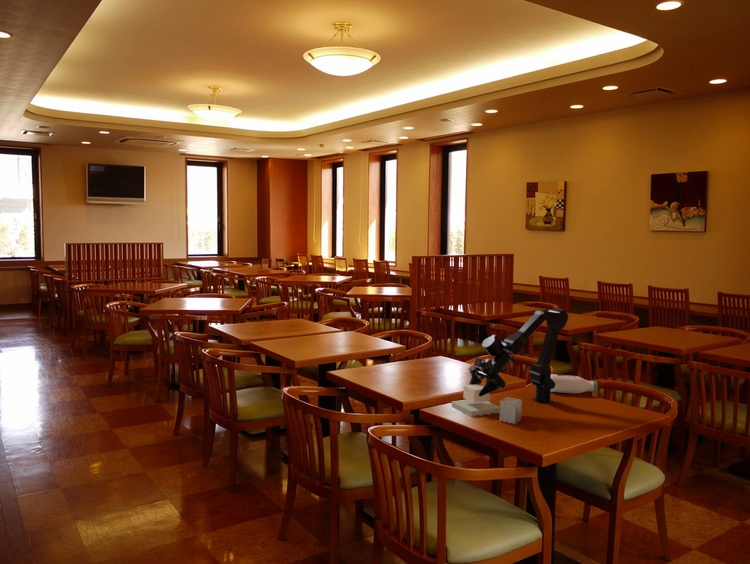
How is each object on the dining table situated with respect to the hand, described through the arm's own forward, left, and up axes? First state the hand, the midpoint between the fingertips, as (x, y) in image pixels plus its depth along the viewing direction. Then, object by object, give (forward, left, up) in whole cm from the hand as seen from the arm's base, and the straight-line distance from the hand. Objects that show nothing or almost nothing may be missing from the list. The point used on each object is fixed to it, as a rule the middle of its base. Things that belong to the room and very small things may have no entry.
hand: (473, 393), depth 241 cm
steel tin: (+16, +7, -7) cm, 19 cm away
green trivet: (0, +1, -7) cm, 7 cm away
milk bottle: (-16, +45, -3) cm, 48 cm away
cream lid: (0, +1, -3) cm, 3 cm away
